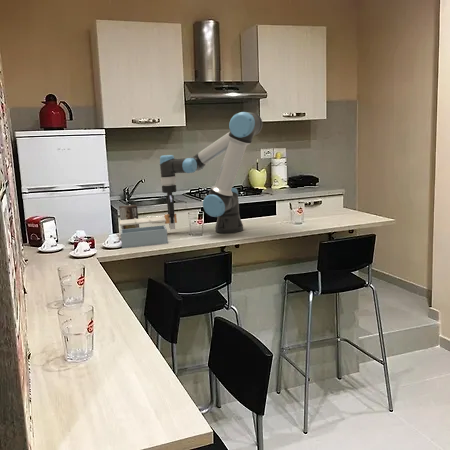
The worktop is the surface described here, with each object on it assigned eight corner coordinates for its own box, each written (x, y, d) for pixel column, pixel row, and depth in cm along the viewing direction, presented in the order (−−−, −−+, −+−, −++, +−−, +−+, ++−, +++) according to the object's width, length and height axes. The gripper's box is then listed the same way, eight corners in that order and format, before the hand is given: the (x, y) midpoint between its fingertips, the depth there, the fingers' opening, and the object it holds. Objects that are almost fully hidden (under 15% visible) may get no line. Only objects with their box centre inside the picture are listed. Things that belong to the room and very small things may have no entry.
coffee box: (137, 232, 292) (135, 204, 289) (140, 234, 286) (137, 205, 283) (121, 234, 289) (118, 206, 286) (123, 236, 283) (120, 207, 280)
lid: (175, 220, 283) (174, 212, 283) (177, 224, 271) (177, 215, 270) (120, 225, 278) (119, 217, 277) (120, 229, 266) (119, 220, 265)
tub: (166, 240, 264) (164, 225, 263) (168, 245, 253) (166, 229, 251) (122, 245, 260) (120, 229, 259) (122, 250, 249) (120, 233, 247)
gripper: (160, 183, 280) (164, 226, 285) (163, 186, 264) (166, 231, 269) (174, 182, 282) (177, 225, 286) (177, 185, 266) (181, 230, 270)
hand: (172, 228), depth 277 cm, fingers closed on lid, 3 cm apart
